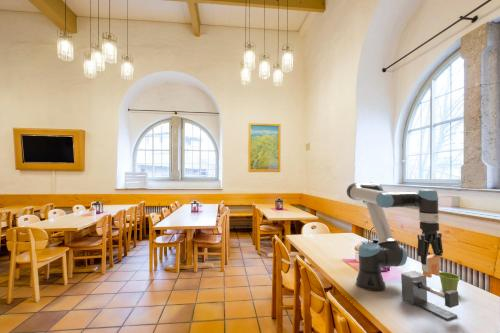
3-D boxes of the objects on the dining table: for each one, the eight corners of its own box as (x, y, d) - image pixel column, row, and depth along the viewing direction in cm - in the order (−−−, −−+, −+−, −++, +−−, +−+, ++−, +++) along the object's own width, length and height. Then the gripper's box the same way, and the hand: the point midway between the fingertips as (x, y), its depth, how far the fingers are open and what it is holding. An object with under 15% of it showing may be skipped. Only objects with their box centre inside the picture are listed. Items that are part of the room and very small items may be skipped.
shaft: (416, 292, 121) (415, 280, 121) (424, 290, 123) (423, 278, 123) (450, 307, 107) (449, 293, 107) (458, 305, 109) (458, 291, 109)
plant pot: (450, 287, 139) (449, 271, 140) (465, 295, 130) (464, 278, 130) (434, 287, 139) (433, 272, 139) (448, 295, 129) (447, 279, 130)
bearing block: (402, 300, 125) (401, 273, 126) (415, 296, 129) (414, 270, 129) (445, 321, 107) (443, 290, 107) (459, 316, 110) (458, 286, 111)
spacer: (423, 275, 116) (422, 256, 117) (433, 273, 119) (432, 254, 119) (429, 277, 114) (428, 258, 114) (439, 275, 116) (438, 256, 116)
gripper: (422, 224, 110) (424, 276, 109) (451, 221, 117) (453, 269, 116) (406, 221, 117) (408, 270, 116) (434, 218, 124) (436, 264, 123)
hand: (431, 269), depth 116 cm, fingers closed on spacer, 7 cm apart
